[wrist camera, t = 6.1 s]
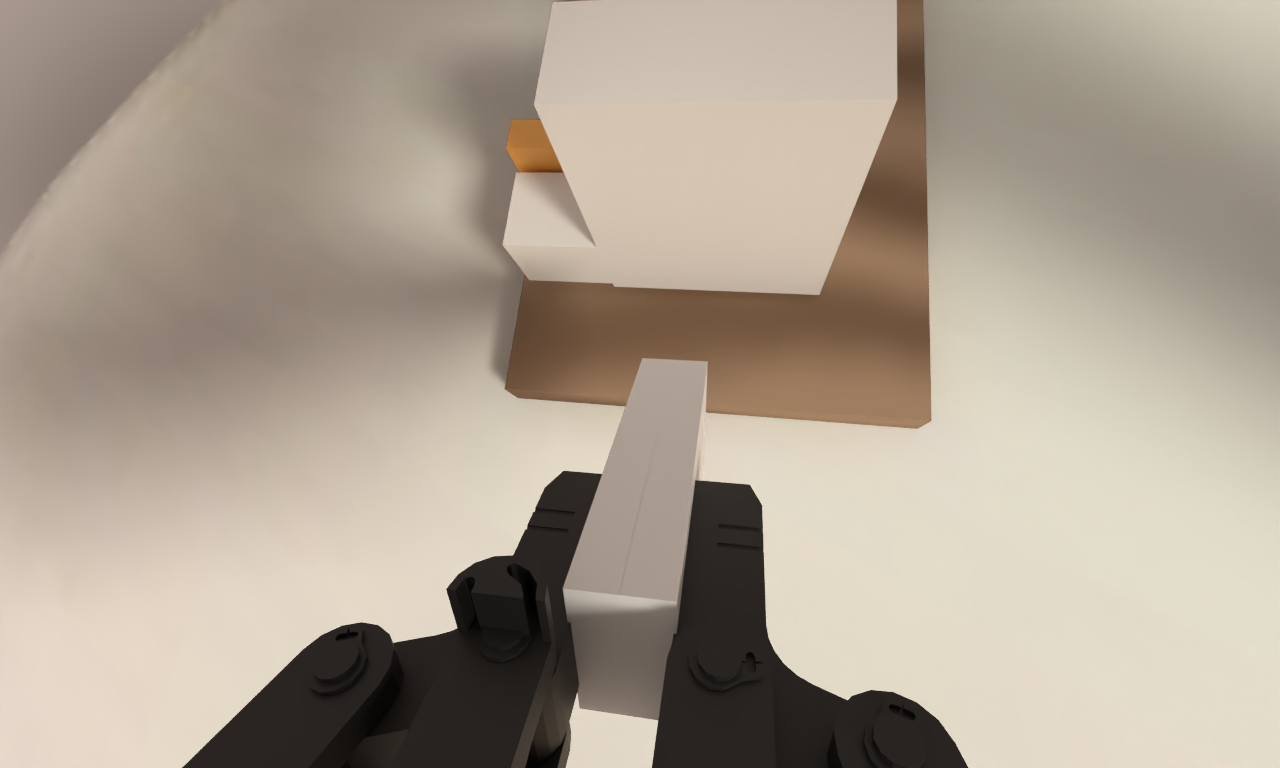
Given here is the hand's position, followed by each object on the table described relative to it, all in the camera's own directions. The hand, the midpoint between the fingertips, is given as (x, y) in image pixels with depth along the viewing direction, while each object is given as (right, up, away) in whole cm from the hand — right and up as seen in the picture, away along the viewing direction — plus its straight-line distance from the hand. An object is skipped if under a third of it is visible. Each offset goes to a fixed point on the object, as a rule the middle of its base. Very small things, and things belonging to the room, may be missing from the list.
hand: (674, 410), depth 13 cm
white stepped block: (+1, +10, +10) cm, 15 cm away
